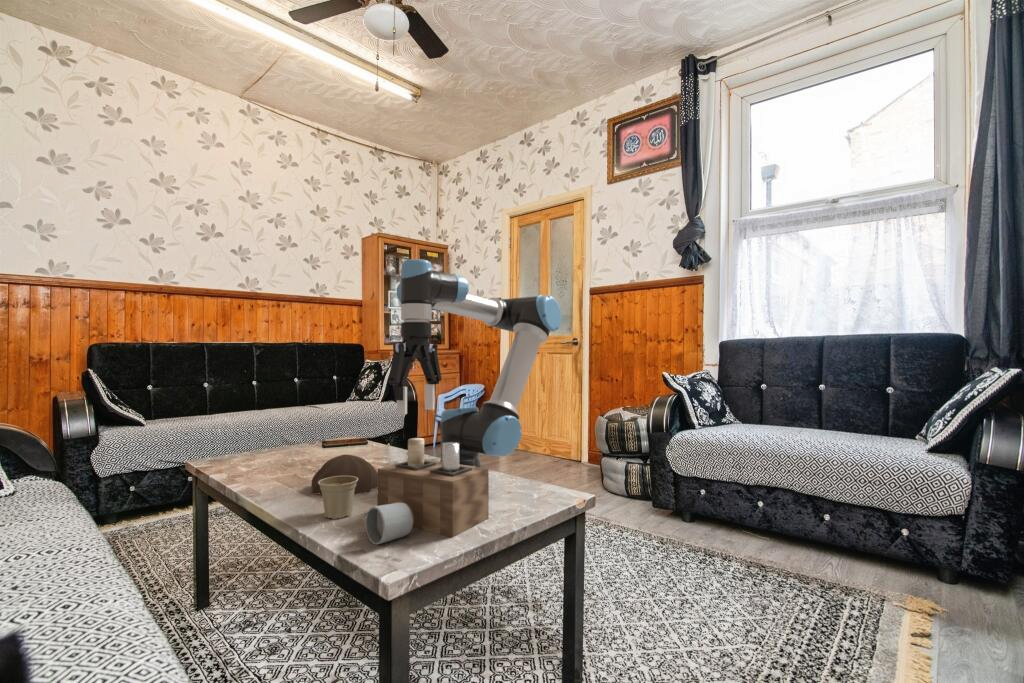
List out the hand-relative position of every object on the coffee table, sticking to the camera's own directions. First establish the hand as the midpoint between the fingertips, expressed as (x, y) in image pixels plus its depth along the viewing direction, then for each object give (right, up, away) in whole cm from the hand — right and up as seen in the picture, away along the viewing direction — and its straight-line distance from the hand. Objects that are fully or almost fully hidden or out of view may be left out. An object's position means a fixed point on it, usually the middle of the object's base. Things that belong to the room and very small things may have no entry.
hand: (416, 411), depth 120 cm
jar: (+10, -26, +9) cm, 29 cm away
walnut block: (+5, -25, -3) cm, 26 cm away
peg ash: (0, -18, 0) cm, 18 cm away
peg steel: (+9, -18, -6) cm, 21 cm away
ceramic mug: (-4, -25, -15) cm, 30 cm away
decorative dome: (-26, -27, +24) cm, 45 cm away
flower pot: (-19, -26, -1) cm, 32 cm away
